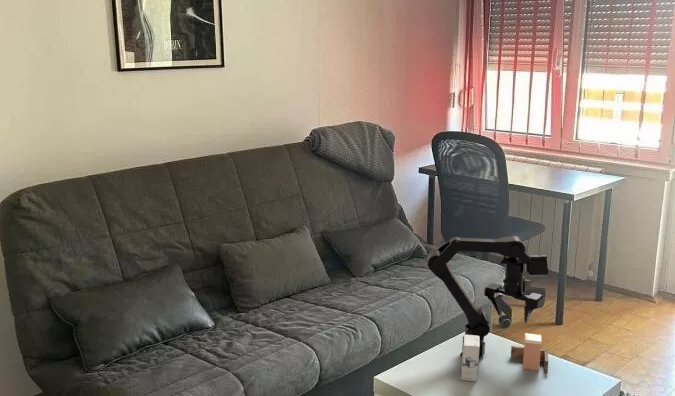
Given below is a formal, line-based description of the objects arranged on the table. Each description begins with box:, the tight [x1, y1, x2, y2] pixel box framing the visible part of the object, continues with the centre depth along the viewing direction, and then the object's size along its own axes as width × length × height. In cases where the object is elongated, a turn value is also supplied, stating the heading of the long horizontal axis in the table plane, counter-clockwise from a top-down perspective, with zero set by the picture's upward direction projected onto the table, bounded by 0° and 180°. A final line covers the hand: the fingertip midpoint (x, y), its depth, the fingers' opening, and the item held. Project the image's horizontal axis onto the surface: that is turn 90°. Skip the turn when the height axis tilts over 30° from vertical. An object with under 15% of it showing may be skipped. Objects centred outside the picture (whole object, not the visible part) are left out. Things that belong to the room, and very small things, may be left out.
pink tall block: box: [522, 332, 542, 371], centre depth 214 cm, size 5×5×10 cm
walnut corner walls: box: [510, 345, 549, 374], centre depth 216 cm, size 12×8×4 cm
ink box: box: [460, 333, 480, 382], centre depth 208 cm, size 9×5×12 cm, turn 168°
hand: (513, 319), depth 219 cm, fingers open, 9 cm apart
